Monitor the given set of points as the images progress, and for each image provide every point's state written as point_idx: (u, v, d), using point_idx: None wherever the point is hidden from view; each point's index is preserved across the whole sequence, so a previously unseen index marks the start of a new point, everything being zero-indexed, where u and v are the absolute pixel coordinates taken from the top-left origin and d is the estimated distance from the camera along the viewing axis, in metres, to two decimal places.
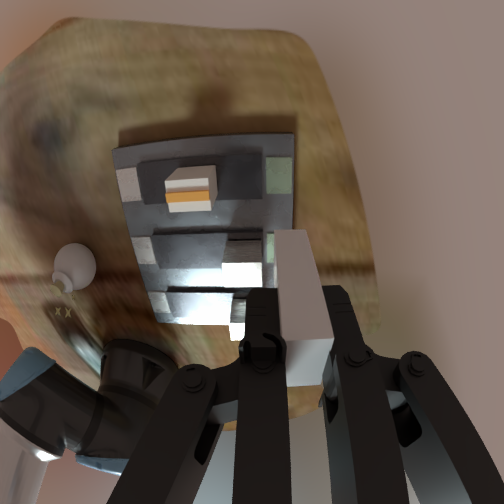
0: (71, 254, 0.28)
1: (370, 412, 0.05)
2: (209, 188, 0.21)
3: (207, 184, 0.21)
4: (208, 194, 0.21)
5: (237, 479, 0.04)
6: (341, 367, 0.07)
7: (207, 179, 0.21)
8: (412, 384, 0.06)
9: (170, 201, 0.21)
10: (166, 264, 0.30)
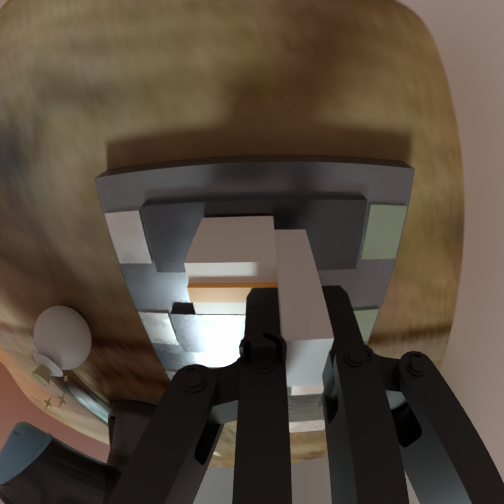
0: (54, 328, 0.18)
1: (370, 412, 0.05)
2: None
3: (274, 273, 0.11)
4: None
5: (237, 479, 0.04)
6: (341, 367, 0.07)
7: (275, 264, 0.10)
8: (412, 384, 0.06)
9: (197, 300, 0.11)
10: (194, 348, 0.20)
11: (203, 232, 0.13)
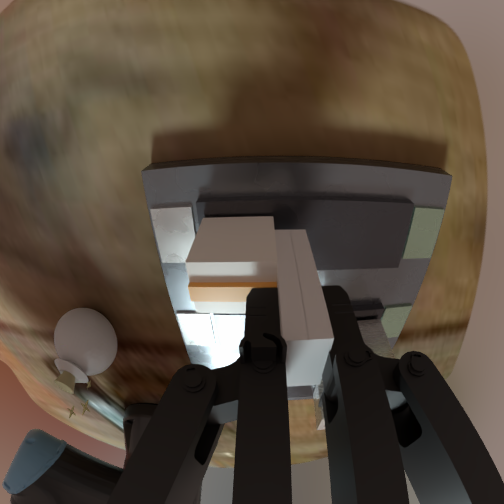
0: (79, 332, 0.17)
1: (370, 412, 0.05)
2: (276, 277, 0.11)
3: (274, 272, 0.11)
4: None
5: (237, 479, 0.04)
6: (341, 367, 0.07)
7: (275, 264, 0.11)
8: (412, 384, 0.06)
9: (198, 299, 0.11)
10: (233, 349, 0.20)
11: (204, 232, 0.13)
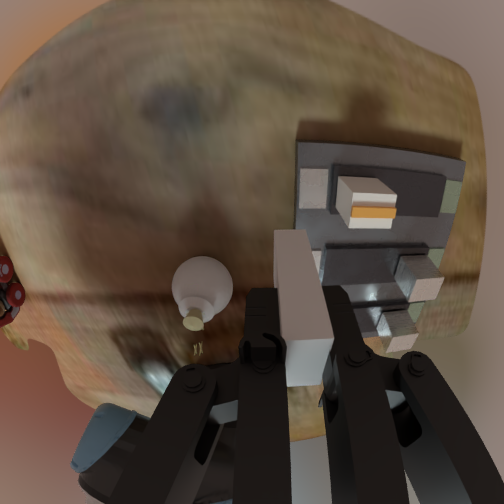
0: (210, 272, 0.25)
1: (370, 412, 0.05)
2: None
3: (394, 201, 0.18)
4: (395, 212, 0.18)
5: (237, 479, 0.04)
6: (341, 367, 0.07)
7: (396, 196, 0.18)
8: (412, 384, 0.06)
9: (356, 216, 0.19)
10: (332, 281, 0.27)
11: (347, 182, 0.20)
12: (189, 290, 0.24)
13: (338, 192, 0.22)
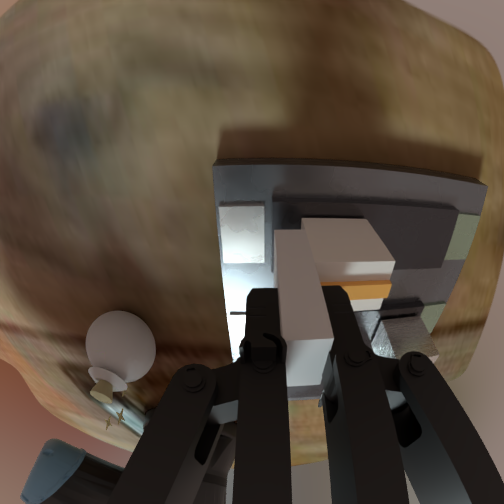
0: (119, 338, 0.17)
1: (370, 412, 0.05)
2: None
3: (390, 271, 0.11)
4: (389, 288, 0.11)
5: (237, 479, 0.04)
6: (341, 367, 0.07)
7: (393, 263, 0.11)
8: (412, 384, 0.06)
9: None
10: None
11: (313, 232, 0.13)
12: (97, 357, 0.17)
13: None
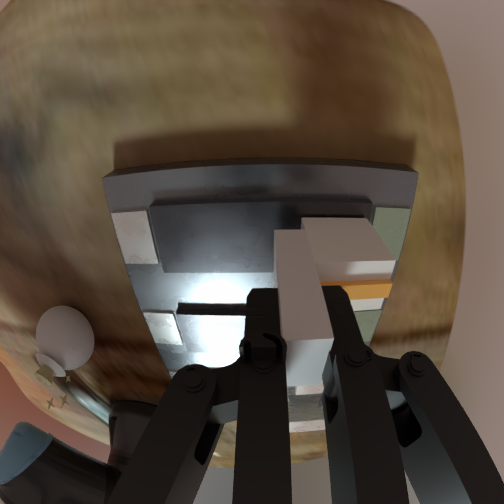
0: (57, 328, 0.18)
1: (370, 412, 0.05)
2: None
3: (390, 270, 0.11)
4: (389, 288, 0.11)
5: (237, 479, 0.04)
6: (341, 367, 0.07)
7: (393, 262, 0.10)
8: (412, 384, 0.06)
9: None
10: (198, 348, 0.20)
11: (313, 232, 0.13)
12: (41, 345, 0.17)
13: None
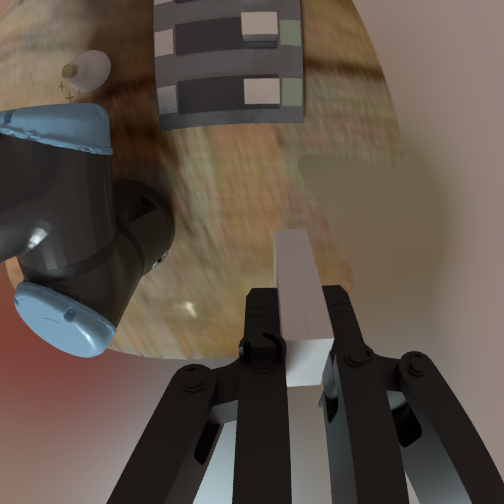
0: (92, 51, 0.22)
1: (370, 412, 0.05)
2: None
3: None
4: None
5: (237, 479, 0.04)
6: (341, 367, 0.07)
7: None
8: (412, 384, 0.06)
9: None
10: (183, 49, 0.25)
11: None
12: None
13: None
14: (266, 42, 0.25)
